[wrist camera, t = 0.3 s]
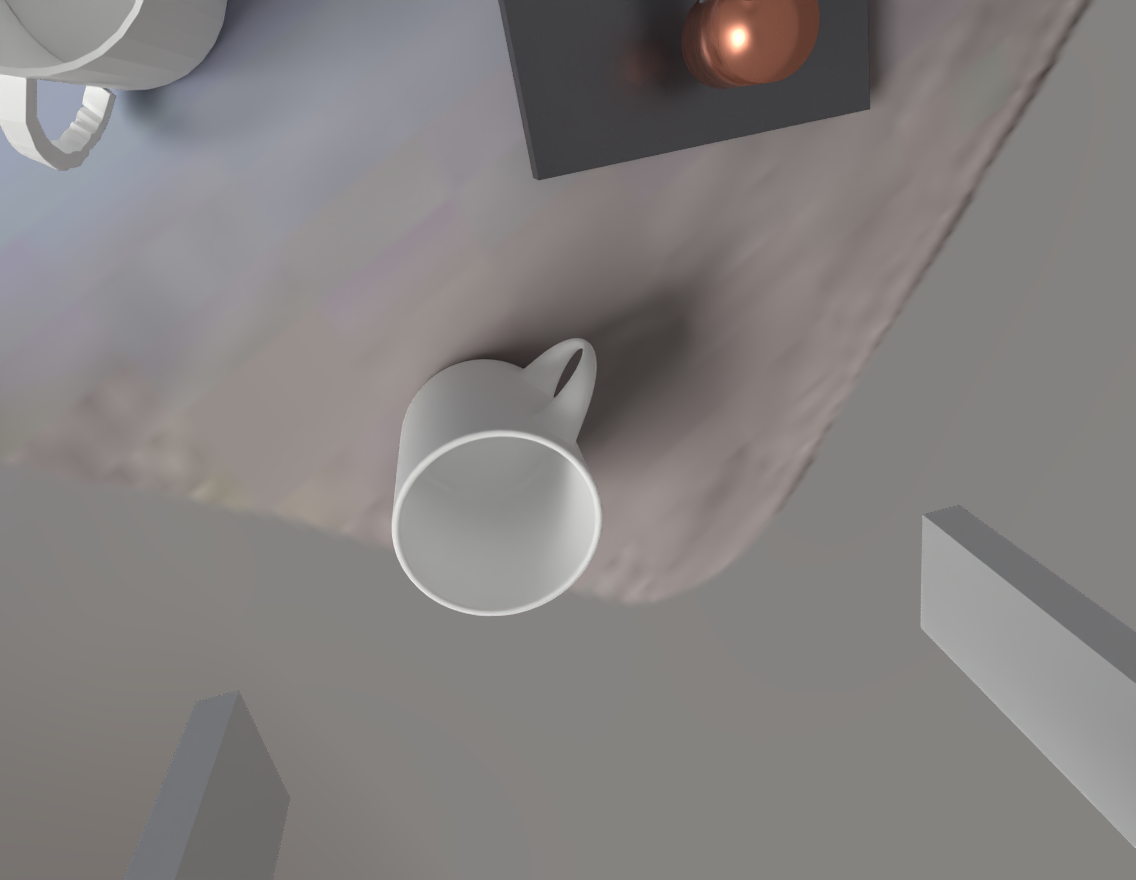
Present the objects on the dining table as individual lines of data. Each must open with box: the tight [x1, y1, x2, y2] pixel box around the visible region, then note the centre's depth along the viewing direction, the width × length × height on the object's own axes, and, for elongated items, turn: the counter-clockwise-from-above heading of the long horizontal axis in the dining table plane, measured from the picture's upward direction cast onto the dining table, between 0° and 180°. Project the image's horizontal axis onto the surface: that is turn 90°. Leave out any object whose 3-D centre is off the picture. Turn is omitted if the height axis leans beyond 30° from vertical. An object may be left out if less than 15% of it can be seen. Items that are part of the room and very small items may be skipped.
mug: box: [392, 338, 603, 616], centre depth 35 cm, size 9×12×11 cm
